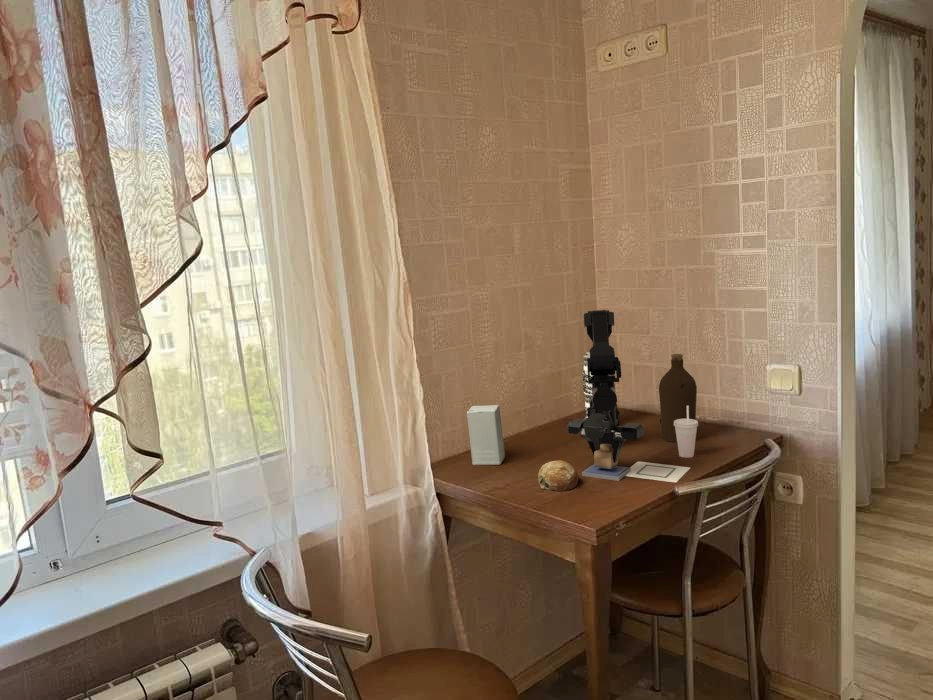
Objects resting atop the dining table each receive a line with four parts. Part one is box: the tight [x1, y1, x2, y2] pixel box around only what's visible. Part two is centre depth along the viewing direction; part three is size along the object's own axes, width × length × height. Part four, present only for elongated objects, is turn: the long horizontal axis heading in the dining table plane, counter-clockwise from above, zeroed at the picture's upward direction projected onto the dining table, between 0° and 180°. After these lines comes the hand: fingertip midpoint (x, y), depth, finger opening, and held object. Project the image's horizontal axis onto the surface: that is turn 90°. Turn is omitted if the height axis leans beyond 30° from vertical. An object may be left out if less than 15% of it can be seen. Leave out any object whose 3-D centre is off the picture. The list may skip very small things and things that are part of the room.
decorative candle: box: [581, 350, 593, 419], centre depth 226 cm, size 9×9×25 cm
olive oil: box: [658, 353, 698, 443], centre depth 210 cm, size 11×11×25 cm
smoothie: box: [674, 406, 699, 459], centre depth 194 cm, size 6×6×14 cm
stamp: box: [593, 444, 619, 469], centre depth 184 cm, size 4×4×6 cm
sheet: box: [624, 460, 691, 483], centre depth 184 cm, size 14×12×1 cm
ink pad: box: [581, 463, 631, 482], centre depth 185 cm, size 10×8×1 cm
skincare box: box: [466, 404, 506, 466], centre depth 200 cm, size 8×7×16 cm
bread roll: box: [537, 459, 579, 492], centre depth 179 cm, size 10×10×8 cm
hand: (606, 461), depth 184 cm, fingers closed on stamp, 4 cm apart
